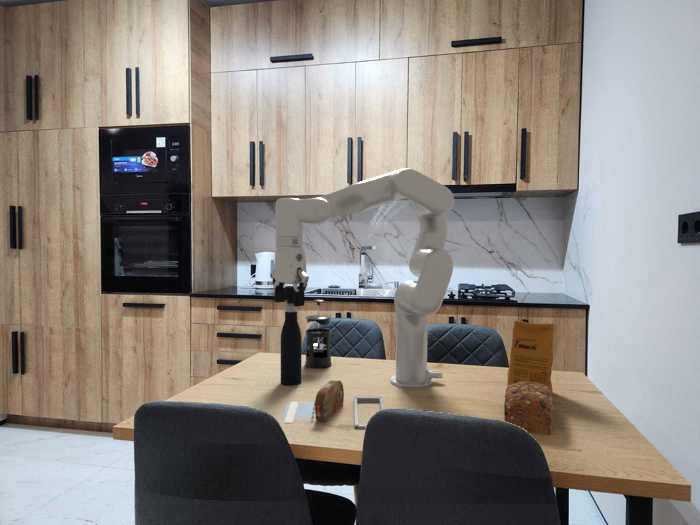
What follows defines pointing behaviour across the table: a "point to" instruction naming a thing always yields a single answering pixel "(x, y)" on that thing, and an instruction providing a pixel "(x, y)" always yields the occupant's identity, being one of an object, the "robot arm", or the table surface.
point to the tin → (328, 400)
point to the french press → (318, 357)
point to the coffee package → (531, 353)
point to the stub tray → (365, 399)
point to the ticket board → (298, 411)
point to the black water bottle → (290, 343)
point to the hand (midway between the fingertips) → (289, 303)
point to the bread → (529, 406)
